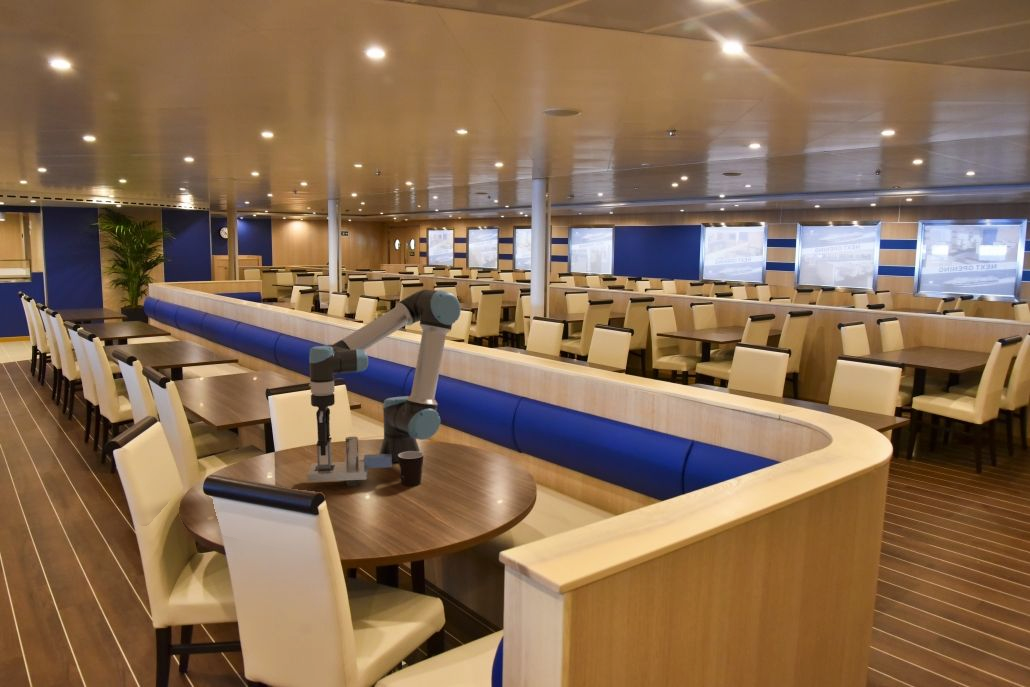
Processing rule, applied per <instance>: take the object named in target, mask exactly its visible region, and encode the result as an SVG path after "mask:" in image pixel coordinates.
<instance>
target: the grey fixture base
mask: <svg viewBox="0 0 1030 687" xmlns="http://www.w3.org/2000/svg"><path fill="white" fill-rule="evenodd" d="M392 465H393V462H392V454H380V453H377V454H375V453H373V454H371V453H370V454H364V457H363V461H362V460H360V461H359V438H358V436H347V437H345V461H336V462H332V471H318V462H312V463H311V465H310V467H309V469H308V470H307V473H306V482H314V483H315V482H334V481H335V482H336V481H346V486H348V487H356V486H358V485H359V484H360V481H363V480H367V479H368V474H369V469H381V468H382V469H383V468H384V469H385V468H392Z"/></svg>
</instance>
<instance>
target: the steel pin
mask: <svg viewBox="0 0 1030 687" xmlns="http://www.w3.org/2000/svg"><path fill="white" fill-rule="evenodd" d="M317 444H318V440H317V442H316V450H317V454H316V456H317V463H318V471H332V439H327V445H328V464H326V465H320V463H319V446H317Z"/></svg>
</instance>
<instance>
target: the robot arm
mask: <svg viewBox="0 0 1030 687" xmlns="http://www.w3.org/2000/svg"><path fill="white" fill-rule="evenodd" d="M461 310H462V309H461V303H460V301H459V300H458V298H457V296H456V295H455V294H453V293H452V292H449V291H445V290H437V289H436V290H433V289H422V290H418V291H416V292H414V293H412V294H411V295H408V296H407V297H405V298H403V299H402V300H400V301H398V302H397V303H396V304H395V307H394V308H392V309H391V310H388V311H387V312H386V313H383V314H382V315H380V316H379V317H377V318H375V319H373V320H372V321H370V322H369V323H366V324H365V325H364V326H362V327H360V328H358V329H357V330H355V331H354V332H352V333H350V334H348V335H347V336H345V337H343V338H342V339H341V340H338V341H336V342H335V343H332V344H331V343H330V344H325V345H319V346H313V347H311V348H310V350H309V359H308V361H309V374H310V375H309V376H310V377H309V378H310V383H308V387H310V393H311V395H310V405H311V406H312V407H315V408H316V407H317V411H316V425H317V441H318V444H317V443H316V447H317V446H319V463H320V465H326V464H328V445H327V439H331V440H332V439H333V438H332V437H331V433H330V432H331V430H330V425H331V423H330V419H331V417H330V414H331V410H330V407H332V406H333V405H335V402H336V401H335V397H336V396H335V393H334V392H335V375H338V374H347V373H350V374H351V373H359V372H363V371H366V370H367V369H368V366H369V356H368V353H367V351H366V350H367V349H369V348H370V347H372V346H374V345H375V344H377V343H378V342H380V341H382V340H384V339H385V338H387V337H389V336H390V335H392V334H394V333H395V332H396V331H398V330H399V329H402V328H403V327H404V326H412V325H413V324H415V323H418V322H419V326H420V328H421V329H422V334H421V339H420V343H419V344H420V345H419V348H418V354H417V361H416V366H415V371H414V377H413V382H412V387H411V393H410V394H409V395H405V396H395V397H388V398H386V399H384V401H383V404H382V405H383V406H382V410H383V411H382V412H383V440H382V442H381V446H380V448H379V454H392V463H399V460H398V454H400V453H402V452H407V451H418V452H421V451H420V446H419V444H418V441H417V440H427V439H430V438H432V437H433V436H434V435H436V434H437V432H438V431H439V428H440V426H441V417H440V415H439V412H438V411H437V410H438V405H439V404H438V402H437V400H436V398H435V397H436V391H437V387H438V381H439V375H440V371H441V365H442V361H443V360H442V358H443V352H444V347H445V342H446V337H447V334H449V333H450V332H451V331H452V327H453V324H455V323H456V321H458V320H459V318H460V316H461V313H462V312H461Z"/></svg>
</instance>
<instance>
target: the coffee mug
mask: <svg viewBox="0 0 1030 687" xmlns="http://www.w3.org/2000/svg"><path fill="white" fill-rule="evenodd" d="M424 456H425V455H424V452H421V451H420V452H418V451H407V452H402V453H400V454H398V460H399V462H398V466H399V472H400V481H401V485H402V486H403V487H409V488H410V487H417V486H419V485H420V486H421V484H422V476H423V475H422V474H423V467H424V465H423V464H424Z"/></svg>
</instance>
